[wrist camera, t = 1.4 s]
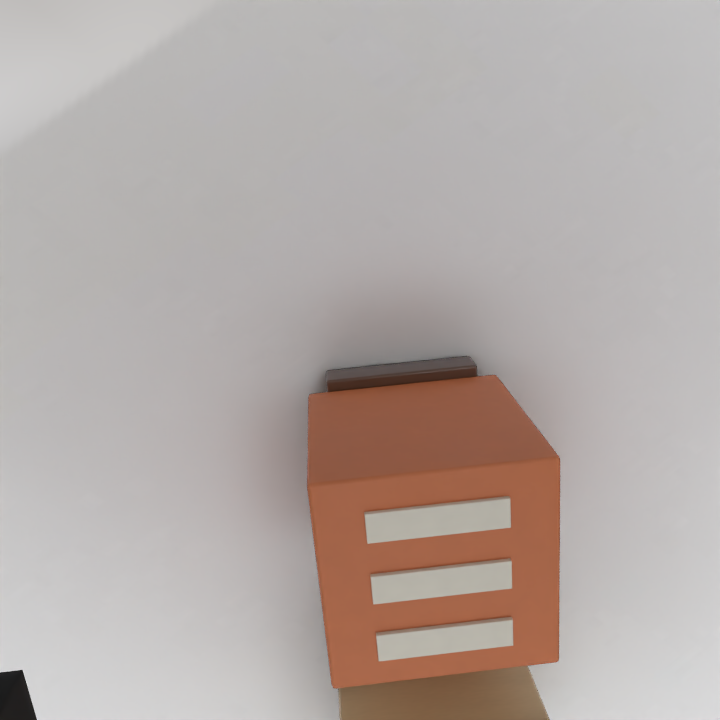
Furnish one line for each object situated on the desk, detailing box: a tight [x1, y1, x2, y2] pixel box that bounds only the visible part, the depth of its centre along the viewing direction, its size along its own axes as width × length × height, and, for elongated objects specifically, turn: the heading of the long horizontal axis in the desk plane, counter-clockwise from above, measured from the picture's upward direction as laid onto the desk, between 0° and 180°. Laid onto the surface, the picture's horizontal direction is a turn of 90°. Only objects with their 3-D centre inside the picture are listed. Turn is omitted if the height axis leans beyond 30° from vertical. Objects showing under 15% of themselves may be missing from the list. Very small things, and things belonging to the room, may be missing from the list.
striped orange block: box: [307, 375, 560, 689], centre depth 15 cm, size 4×4×5 cm
